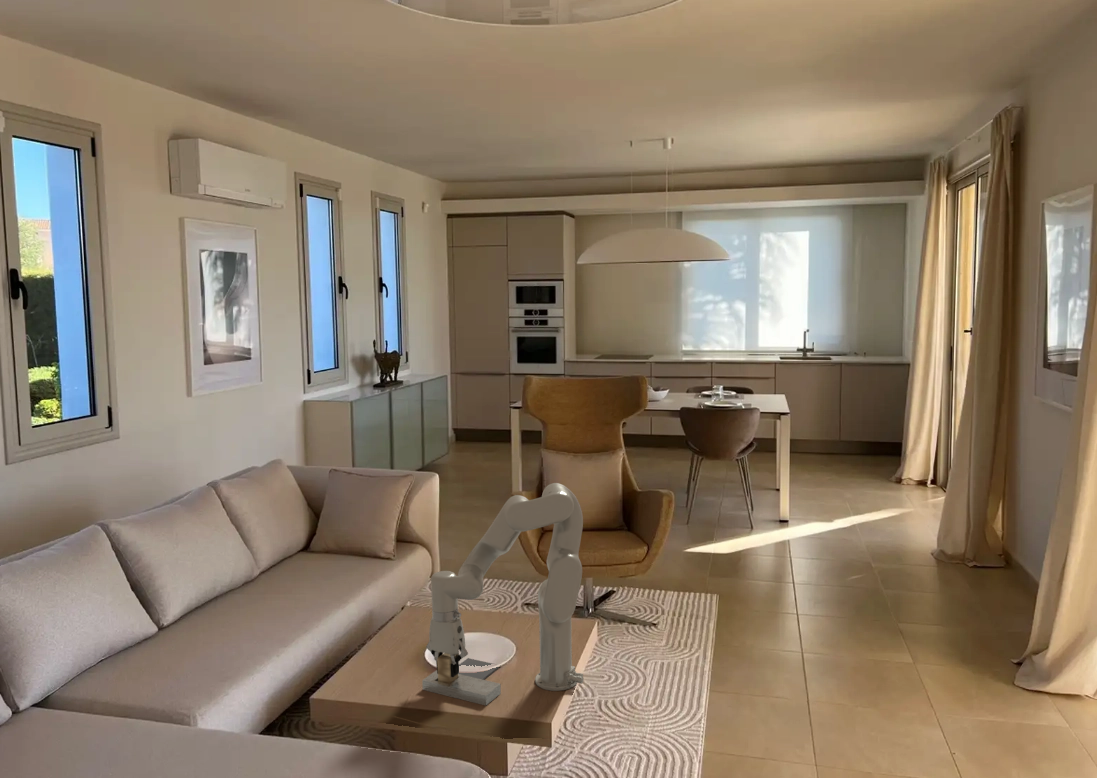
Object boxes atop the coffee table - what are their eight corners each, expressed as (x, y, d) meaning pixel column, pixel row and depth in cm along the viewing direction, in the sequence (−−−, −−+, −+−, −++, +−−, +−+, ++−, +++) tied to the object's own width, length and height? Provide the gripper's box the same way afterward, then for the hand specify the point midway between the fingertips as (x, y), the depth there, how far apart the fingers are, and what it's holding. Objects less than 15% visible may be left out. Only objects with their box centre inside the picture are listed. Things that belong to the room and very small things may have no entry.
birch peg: (458, 683, 249) (457, 654, 248) (450, 690, 246) (449, 660, 245) (446, 681, 251) (445, 652, 250) (438, 687, 248) (437, 658, 247)
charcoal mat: (500, 667, 262) (500, 665, 262) (480, 683, 252) (479, 681, 251) (468, 659, 268) (468, 658, 268) (446, 675, 257) (446, 673, 257)
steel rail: (500, 693, 245) (500, 683, 244) (486, 705, 238) (486, 695, 237) (438, 678, 255) (438, 669, 255) (422, 689, 248) (422, 680, 248)
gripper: (476, 614, 245) (478, 673, 248) (429, 605, 253) (431, 663, 255) (462, 623, 239) (464, 684, 241) (414, 614, 247) (417, 673, 249)
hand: (447, 673), depth 248 cm, fingers closed on birch peg, 4 cm apart
